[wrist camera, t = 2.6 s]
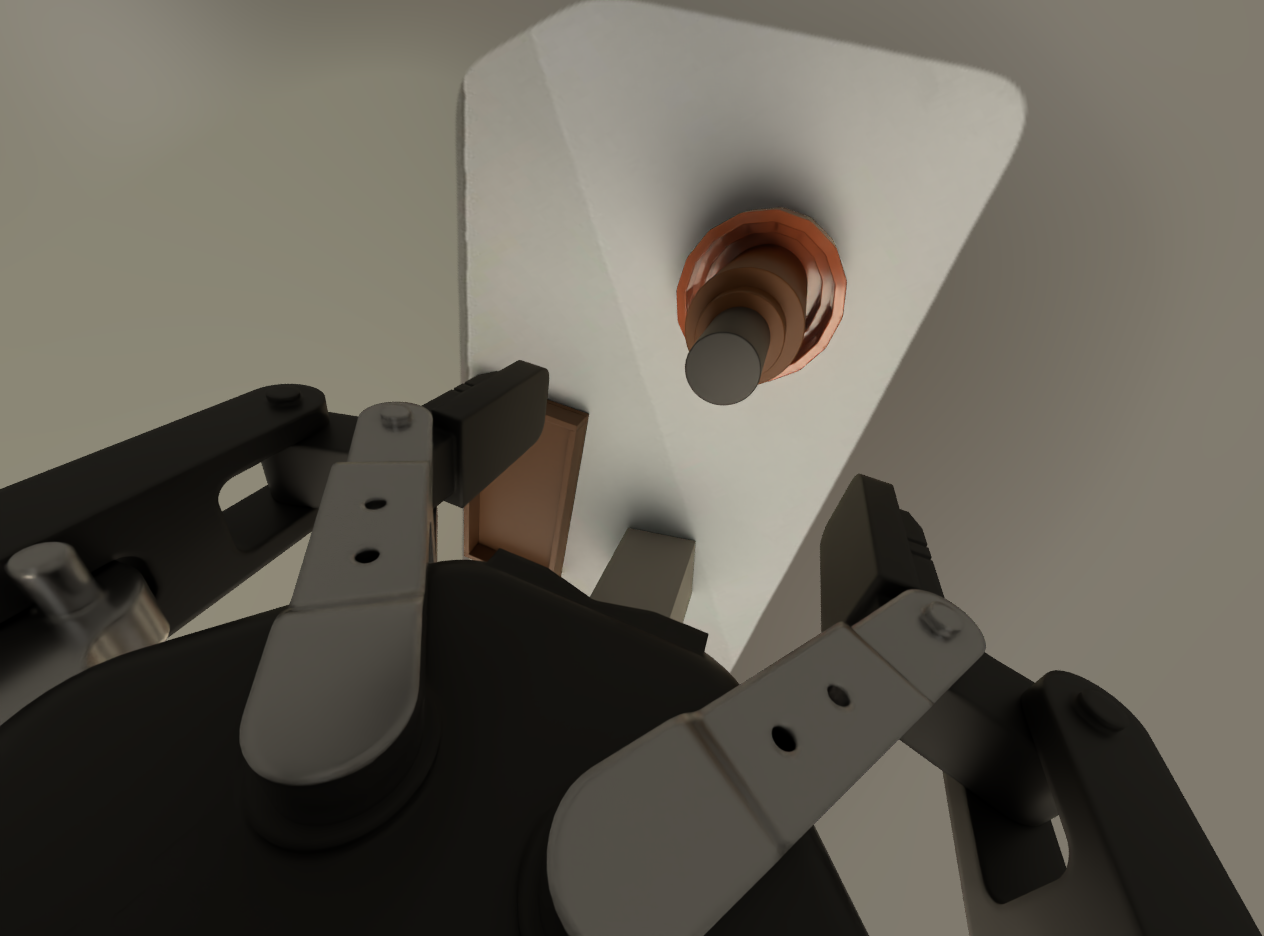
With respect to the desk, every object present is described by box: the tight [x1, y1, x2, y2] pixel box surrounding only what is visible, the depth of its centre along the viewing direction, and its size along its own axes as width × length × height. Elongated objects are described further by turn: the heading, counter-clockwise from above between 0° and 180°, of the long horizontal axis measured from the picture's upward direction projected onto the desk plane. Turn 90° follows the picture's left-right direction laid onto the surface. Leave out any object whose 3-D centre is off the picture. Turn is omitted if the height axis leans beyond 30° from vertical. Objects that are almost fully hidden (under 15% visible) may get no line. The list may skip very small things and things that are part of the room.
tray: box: [464, 399, 589, 577], centre depth 47 cm, size 21×11×3 cm, turn 168°
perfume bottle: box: [590, 528, 696, 623], centre depth 39 cm, size 7×7×18 cm
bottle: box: [685, 244, 808, 405], centre depth 24 cm, size 6×6×17 cm
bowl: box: [676, 207, 847, 381], centre depth 30 cm, size 10×10×5 cm
